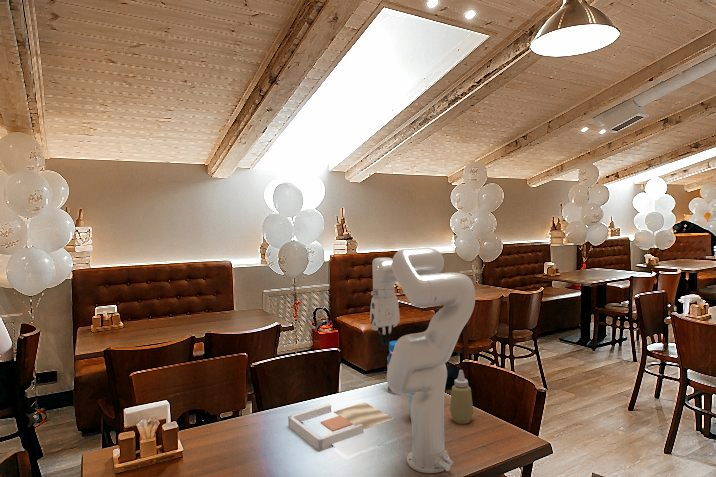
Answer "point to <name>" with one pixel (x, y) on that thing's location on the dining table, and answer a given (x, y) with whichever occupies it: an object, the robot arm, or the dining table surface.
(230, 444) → the dining table surface
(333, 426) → the tile
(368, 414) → the beige square board
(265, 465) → the dining table surface
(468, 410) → the squeeze bottle
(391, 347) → the beverage bottle
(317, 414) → the box
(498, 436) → the dining table surface
